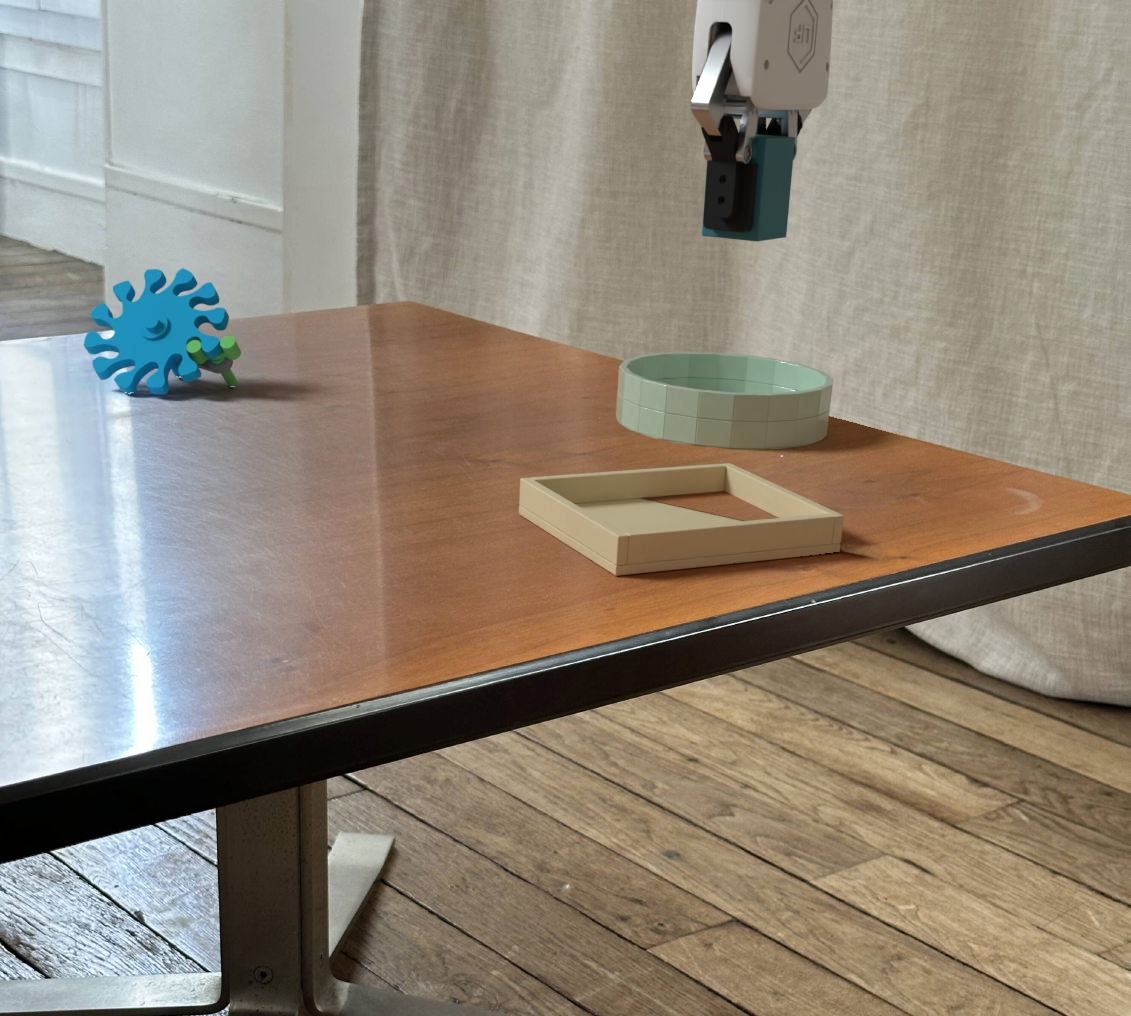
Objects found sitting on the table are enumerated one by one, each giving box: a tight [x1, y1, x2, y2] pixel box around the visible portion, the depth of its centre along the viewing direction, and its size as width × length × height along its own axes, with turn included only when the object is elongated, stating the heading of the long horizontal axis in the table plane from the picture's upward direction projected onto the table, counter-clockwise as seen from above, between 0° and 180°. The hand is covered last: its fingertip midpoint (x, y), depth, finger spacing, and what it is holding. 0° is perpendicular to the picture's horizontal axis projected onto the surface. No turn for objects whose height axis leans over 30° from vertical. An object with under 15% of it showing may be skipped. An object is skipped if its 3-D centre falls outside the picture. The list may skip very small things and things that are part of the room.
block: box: [701, 134, 795, 242], centre depth 100 cm, size 4×4×6 cm
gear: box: [83, 267, 242, 396], centre depth 111 cm, size 11×6×10 cm
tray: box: [518, 462, 845, 577], centre depth 84 cm, size 13×11×2 cm
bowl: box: [615, 351, 834, 450], centre depth 106 cm, size 14×14×4 cm
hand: (745, 224), depth 101 cm, fingers closed on block, 4 cm apart
